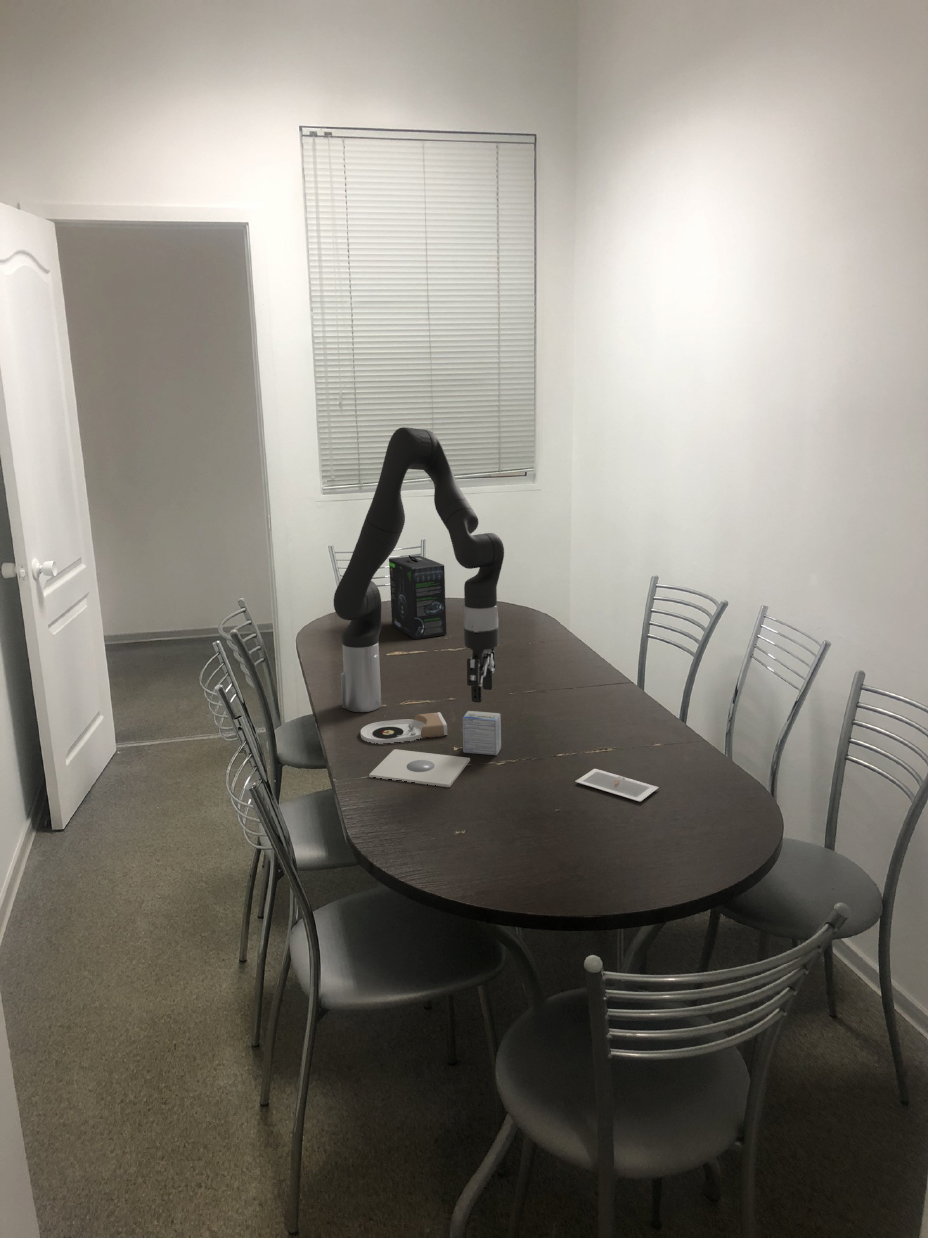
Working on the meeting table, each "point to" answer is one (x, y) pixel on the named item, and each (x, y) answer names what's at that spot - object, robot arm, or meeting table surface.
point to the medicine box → (482, 732)
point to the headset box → (418, 596)
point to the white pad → (420, 767)
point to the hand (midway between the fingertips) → (482, 695)
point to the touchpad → (617, 784)
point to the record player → (405, 729)
